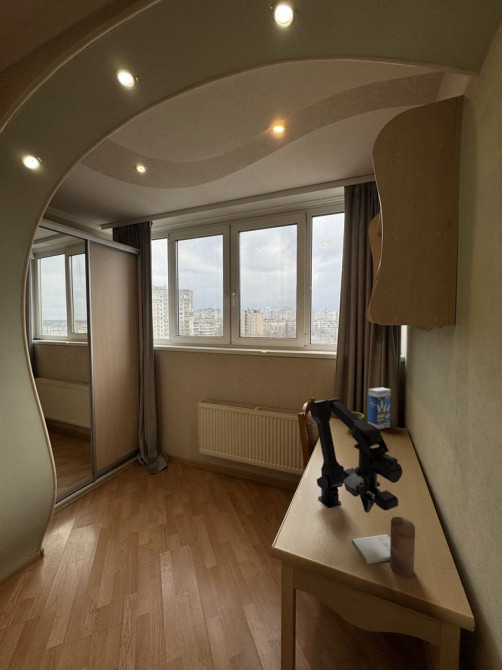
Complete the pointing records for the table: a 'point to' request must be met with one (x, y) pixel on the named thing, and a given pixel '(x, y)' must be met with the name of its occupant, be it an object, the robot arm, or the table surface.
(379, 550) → the external hard drive
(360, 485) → the robot arm
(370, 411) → the string lights box
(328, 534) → the table surface
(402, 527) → the walnut roller
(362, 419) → the plant pot
